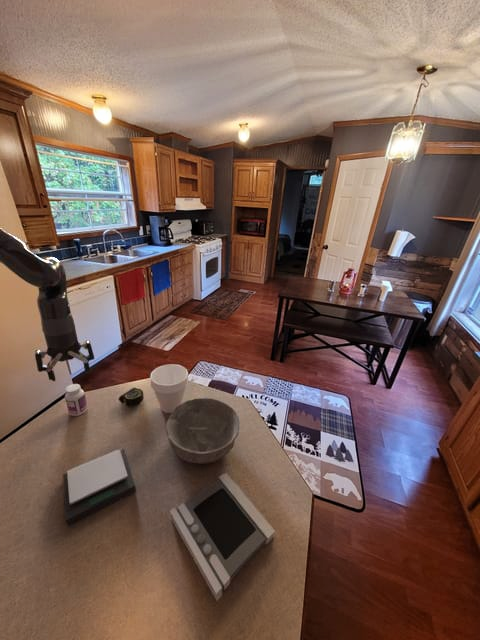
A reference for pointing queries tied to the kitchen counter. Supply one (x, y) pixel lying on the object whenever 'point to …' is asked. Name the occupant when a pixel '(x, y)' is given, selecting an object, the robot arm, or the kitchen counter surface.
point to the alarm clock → (221, 531)
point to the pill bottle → (75, 400)
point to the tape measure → (132, 397)
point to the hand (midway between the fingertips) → (70, 375)
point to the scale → (96, 485)
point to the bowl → (202, 430)
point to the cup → (169, 385)
